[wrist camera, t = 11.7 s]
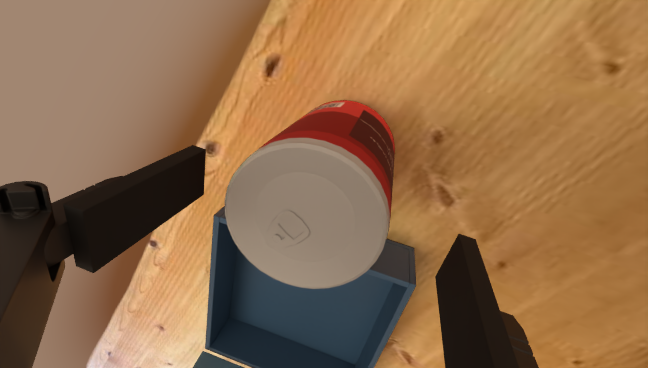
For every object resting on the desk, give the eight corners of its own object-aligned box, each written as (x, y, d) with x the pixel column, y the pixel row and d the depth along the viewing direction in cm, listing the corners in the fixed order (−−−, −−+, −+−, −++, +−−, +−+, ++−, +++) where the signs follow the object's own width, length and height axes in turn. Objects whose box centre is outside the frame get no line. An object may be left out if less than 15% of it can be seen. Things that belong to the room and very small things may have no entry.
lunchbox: (241, 190, 27) (213, 215, 23) (414, 247, 25) (416, 285, 21) (227, 314, 35) (204, 348, 31) (359, 364, 33) (353, 408, 29)
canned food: (279, 161, 25) (201, 235, 15) (328, 75, 21) (265, 102, 12) (355, 211, 25) (326, 316, 16) (417, 135, 22) (429, 211, 12)
